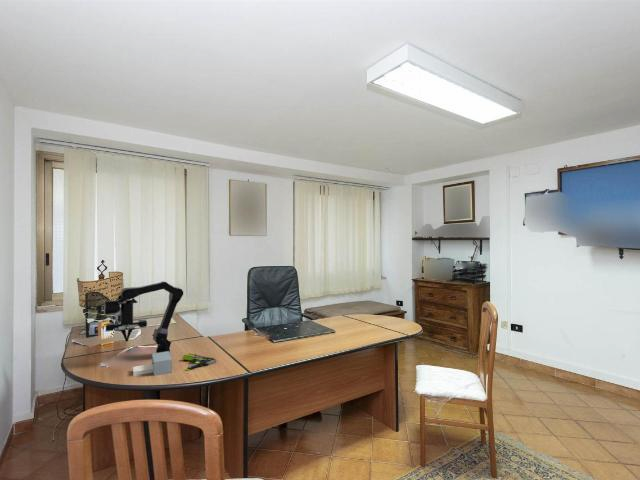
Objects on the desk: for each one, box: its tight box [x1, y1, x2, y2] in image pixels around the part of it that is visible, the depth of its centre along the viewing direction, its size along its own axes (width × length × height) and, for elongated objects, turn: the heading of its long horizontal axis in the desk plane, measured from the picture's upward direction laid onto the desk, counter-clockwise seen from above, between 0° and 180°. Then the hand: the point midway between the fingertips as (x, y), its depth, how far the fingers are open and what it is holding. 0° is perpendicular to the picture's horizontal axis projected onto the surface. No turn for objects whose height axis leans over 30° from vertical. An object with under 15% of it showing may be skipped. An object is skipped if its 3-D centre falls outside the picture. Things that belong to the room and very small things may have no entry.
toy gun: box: [182, 353, 217, 371], centre depth 175 cm, size 20×4×15 cm
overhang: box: [151, 351, 173, 376], centre depth 169 cm, size 8×14×6 cm, turn 30°
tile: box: [132, 363, 154, 377], centre depth 167 cm, size 14×7×2 cm, turn 121°
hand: (126, 341), depth 176 cm, fingers closed
